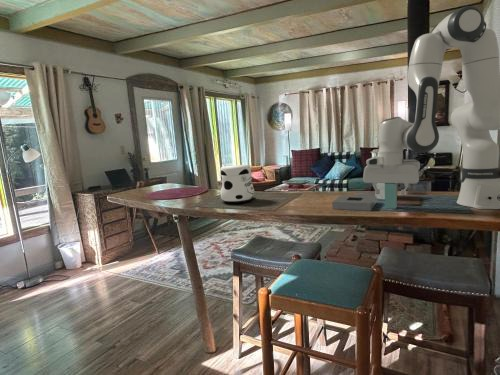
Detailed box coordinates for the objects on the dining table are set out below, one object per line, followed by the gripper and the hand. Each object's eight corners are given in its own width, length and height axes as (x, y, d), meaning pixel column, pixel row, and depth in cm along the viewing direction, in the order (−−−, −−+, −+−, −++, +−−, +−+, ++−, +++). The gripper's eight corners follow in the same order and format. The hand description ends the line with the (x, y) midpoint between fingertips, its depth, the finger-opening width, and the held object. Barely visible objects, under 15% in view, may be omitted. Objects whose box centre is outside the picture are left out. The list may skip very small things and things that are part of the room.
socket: (376, 202, 139) (376, 196, 138) (370, 210, 126) (370, 203, 126) (341, 201, 146) (341, 195, 146) (332, 209, 134) (332, 202, 133)
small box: (387, 200, 143) (387, 171, 141) (374, 198, 148) (374, 170, 146) (397, 197, 147) (397, 168, 145) (385, 195, 152) (385, 168, 150)
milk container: (260, 201, 160) (257, 165, 157) (227, 206, 153) (224, 169, 150) (247, 196, 175) (245, 163, 173) (217, 201, 169) (214, 167, 166)
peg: (396, 206, 130) (396, 182, 128) (395, 208, 126) (395, 183, 125) (386, 206, 132) (385, 182, 130) (384, 208, 128) (384, 183, 127)
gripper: (420, 158, 124) (419, 193, 126) (365, 159, 134) (365, 192, 136) (419, 159, 118) (419, 196, 120) (362, 160, 128) (362, 194, 131)
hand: (390, 194), depth 128 cm, fingers open, 8 cm apart
